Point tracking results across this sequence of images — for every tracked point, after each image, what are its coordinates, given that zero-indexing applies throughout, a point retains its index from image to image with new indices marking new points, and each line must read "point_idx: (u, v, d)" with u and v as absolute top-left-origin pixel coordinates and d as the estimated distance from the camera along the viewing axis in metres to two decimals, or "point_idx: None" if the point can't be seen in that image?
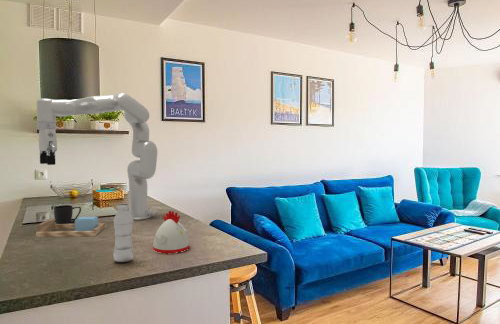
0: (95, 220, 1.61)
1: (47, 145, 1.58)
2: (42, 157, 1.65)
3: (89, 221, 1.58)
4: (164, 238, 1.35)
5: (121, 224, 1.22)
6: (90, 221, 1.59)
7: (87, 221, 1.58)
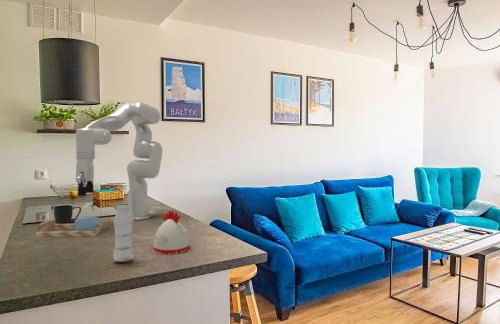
0: (95, 220, 1.61)
1: None
2: None
3: (89, 221, 1.58)
4: (164, 238, 1.35)
5: (121, 224, 1.22)
6: (90, 221, 1.59)
7: (87, 221, 1.58)
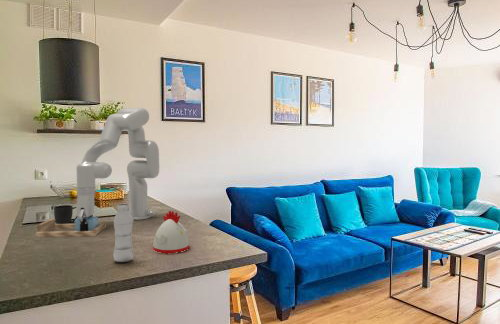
0: (95, 220, 1.61)
1: None
2: None
3: (89, 221, 1.58)
4: (164, 238, 1.35)
5: (121, 224, 1.22)
6: (90, 221, 1.59)
7: (87, 221, 1.58)
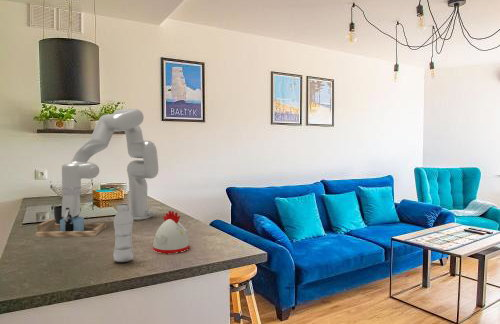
0: (81, 220, 1.60)
1: None
2: None
3: (74, 221, 1.58)
4: (164, 238, 1.35)
5: (121, 224, 1.22)
6: (75, 221, 1.58)
7: (73, 221, 1.58)
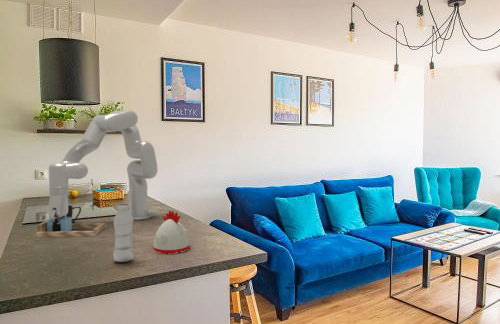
0: (68, 220, 1.60)
1: None
2: None
3: (61, 222, 1.57)
4: (164, 238, 1.35)
5: (121, 224, 1.22)
6: (63, 221, 1.57)
7: (60, 221, 1.57)
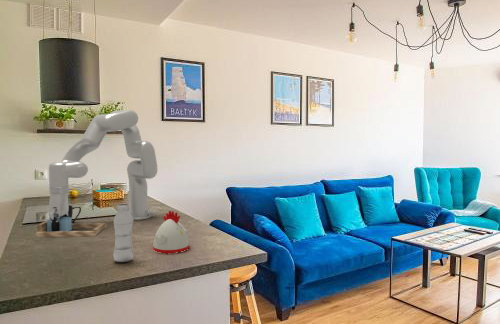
0: (68, 220, 1.60)
1: None
2: None
3: (61, 222, 1.57)
4: (164, 238, 1.35)
5: (121, 224, 1.22)
6: (62, 221, 1.57)
7: (60, 221, 1.57)
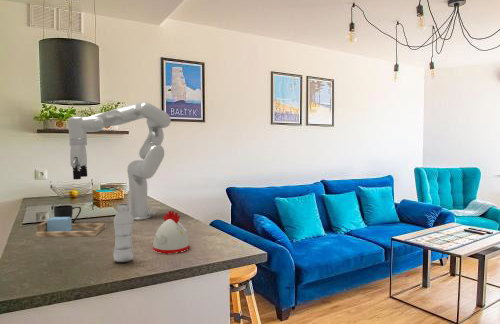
0: (68, 220, 1.60)
1: None
2: None
3: (61, 222, 1.57)
4: (164, 238, 1.35)
5: (121, 224, 1.22)
6: (62, 221, 1.57)
7: (60, 221, 1.57)
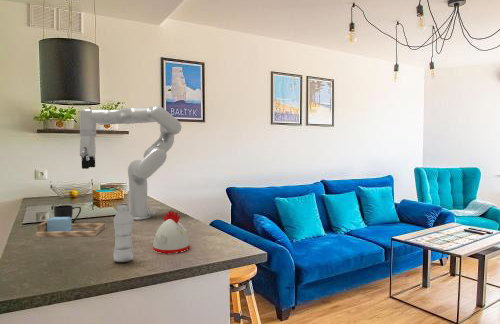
0: (68, 220, 1.60)
1: None
2: None
3: (61, 222, 1.57)
4: (164, 238, 1.35)
5: (121, 224, 1.22)
6: (62, 221, 1.57)
7: (60, 221, 1.57)
